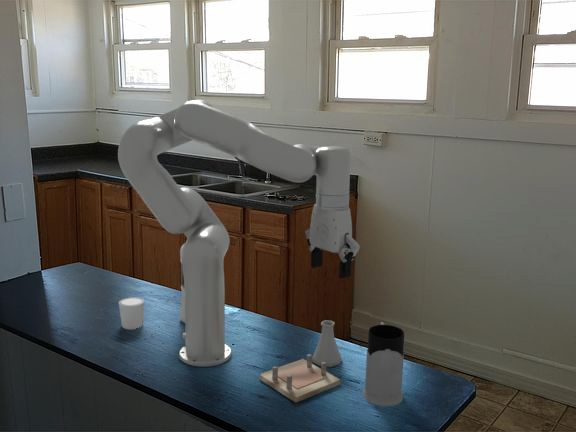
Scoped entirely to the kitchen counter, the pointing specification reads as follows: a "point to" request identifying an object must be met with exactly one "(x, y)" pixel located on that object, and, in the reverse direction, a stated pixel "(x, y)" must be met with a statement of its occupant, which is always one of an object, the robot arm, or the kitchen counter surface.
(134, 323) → the white tapered cylinder
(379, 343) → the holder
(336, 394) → the kitchen counter surface
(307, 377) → the four-post base plate
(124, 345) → the kitchen counter surface
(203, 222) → the robot arm
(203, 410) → the kitchen counter surface
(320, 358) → the flask
